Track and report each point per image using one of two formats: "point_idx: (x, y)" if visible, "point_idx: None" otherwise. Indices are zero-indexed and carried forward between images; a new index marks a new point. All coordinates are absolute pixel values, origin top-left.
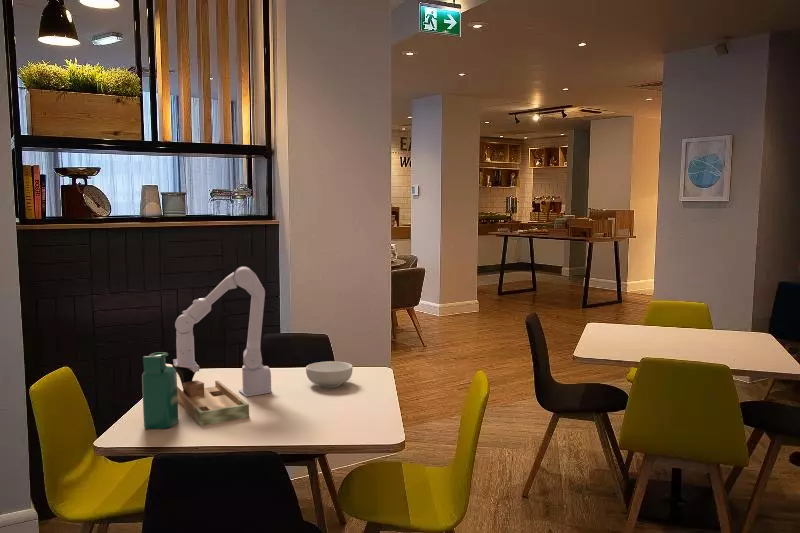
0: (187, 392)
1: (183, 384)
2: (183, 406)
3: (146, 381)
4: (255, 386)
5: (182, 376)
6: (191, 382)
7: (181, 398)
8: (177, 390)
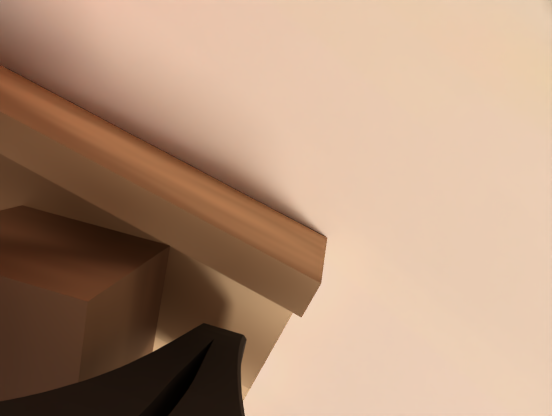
0: (50, 232)
1: (85, 288)
2: (2, 69)
3: None
4: None
5: (75, 404)
6: (14, 377)
7: (12, 96)
8: (148, 188)
